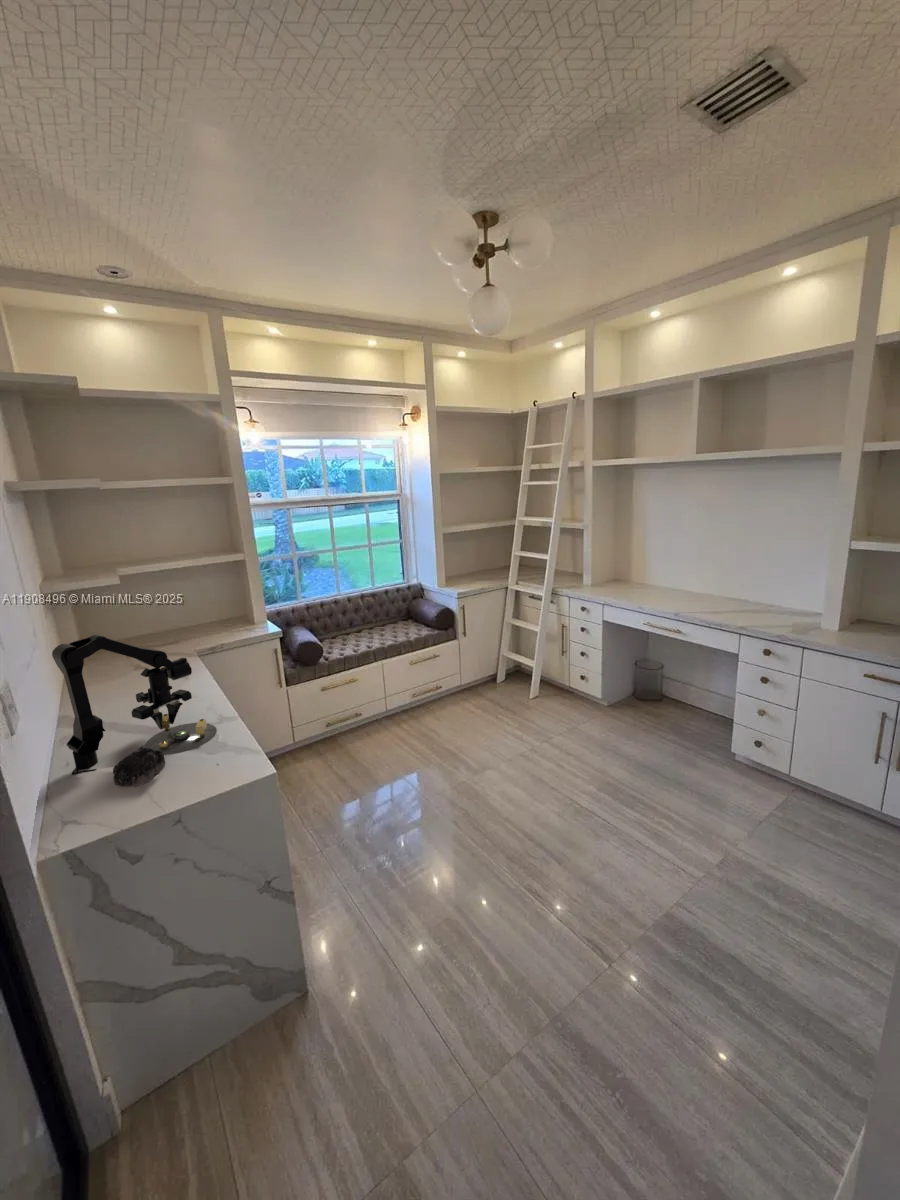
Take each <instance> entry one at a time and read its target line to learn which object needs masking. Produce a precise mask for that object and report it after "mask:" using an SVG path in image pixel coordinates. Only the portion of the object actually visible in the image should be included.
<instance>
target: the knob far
mask: <svg viewBox="0 0 900 1200" xmlns="http://www.w3.org/2000/svg"><path fill="white" fill-rule="evenodd" d="M162 717H163V721H162V728H163V729H164V730H165V731H166V732H167V731H170V728H171V724H170V718H169V714H168V713H164V714H162ZM163 729H162V730H163Z"/></svg>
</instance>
